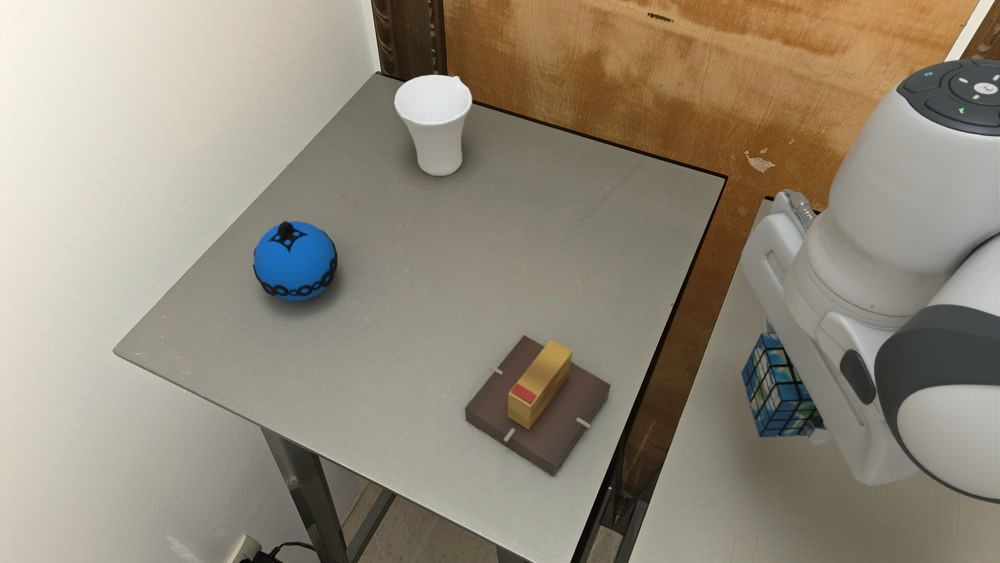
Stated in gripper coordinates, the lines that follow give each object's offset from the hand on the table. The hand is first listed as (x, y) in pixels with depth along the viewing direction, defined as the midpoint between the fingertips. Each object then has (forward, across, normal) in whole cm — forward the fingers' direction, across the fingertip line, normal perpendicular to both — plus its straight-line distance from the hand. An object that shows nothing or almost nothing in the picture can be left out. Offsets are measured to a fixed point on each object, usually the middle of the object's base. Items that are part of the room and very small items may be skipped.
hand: (793, 392), depth 60 cm
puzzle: (+2, 0, 0) cm, 2 cm away
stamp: (+10, -10, -18) cm, 23 cm away
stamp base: (+13, -10, -18) cm, 24 cm away
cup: (+13, -46, -21) cm, 52 cm away
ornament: (+13, -30, -39) cm, 51 cm away
